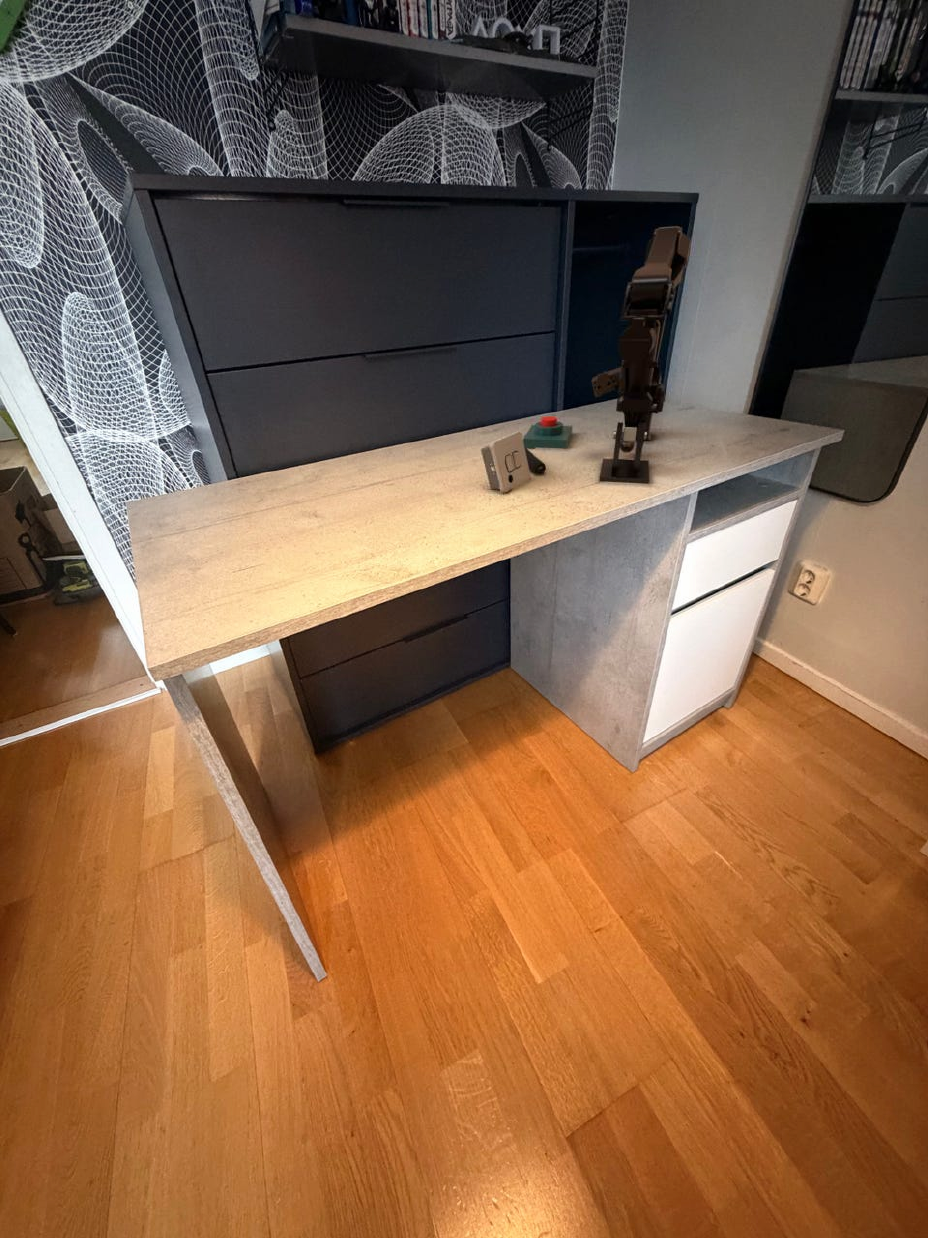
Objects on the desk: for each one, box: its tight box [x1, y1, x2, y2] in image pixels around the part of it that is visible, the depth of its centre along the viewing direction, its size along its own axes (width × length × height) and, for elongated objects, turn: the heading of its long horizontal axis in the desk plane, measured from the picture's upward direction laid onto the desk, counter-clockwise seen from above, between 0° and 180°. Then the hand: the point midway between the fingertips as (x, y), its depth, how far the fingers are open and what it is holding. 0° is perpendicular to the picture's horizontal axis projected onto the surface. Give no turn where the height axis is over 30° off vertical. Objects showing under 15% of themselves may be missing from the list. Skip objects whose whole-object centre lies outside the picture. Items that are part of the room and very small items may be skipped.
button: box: [540, 416, 558, 427], centre depth 114 cm, size 4×4×2 cm
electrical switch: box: [480, 431, 531, 494], centre depth 94 cm, size 9×5×9 cm, turn 141°
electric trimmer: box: [524, 447, 547, 473], centre depth 103 cm, size 4×16×3 cm, turn 16°
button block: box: [522, 420, 573, 450], centre depth 116 cm, size 12×10×4 cm
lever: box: [620, 426, 637, 454], centre depth 98 cm, size 14×3×3 cm, turn 164°
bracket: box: [599, 421, 650, 485], centre depth 94 cm, size 11×9×9 cm
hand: (628, 437), depth 102 cm, fingers closed, pressing on lever
